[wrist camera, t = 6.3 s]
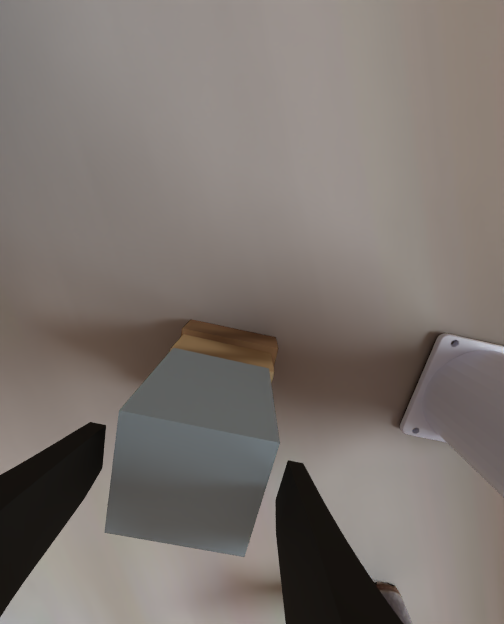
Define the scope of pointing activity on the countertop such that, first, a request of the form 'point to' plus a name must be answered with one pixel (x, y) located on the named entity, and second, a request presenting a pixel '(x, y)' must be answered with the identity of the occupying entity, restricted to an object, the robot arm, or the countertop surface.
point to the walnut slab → (232, 336)
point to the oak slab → (226, 351)
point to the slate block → (194, 454)
